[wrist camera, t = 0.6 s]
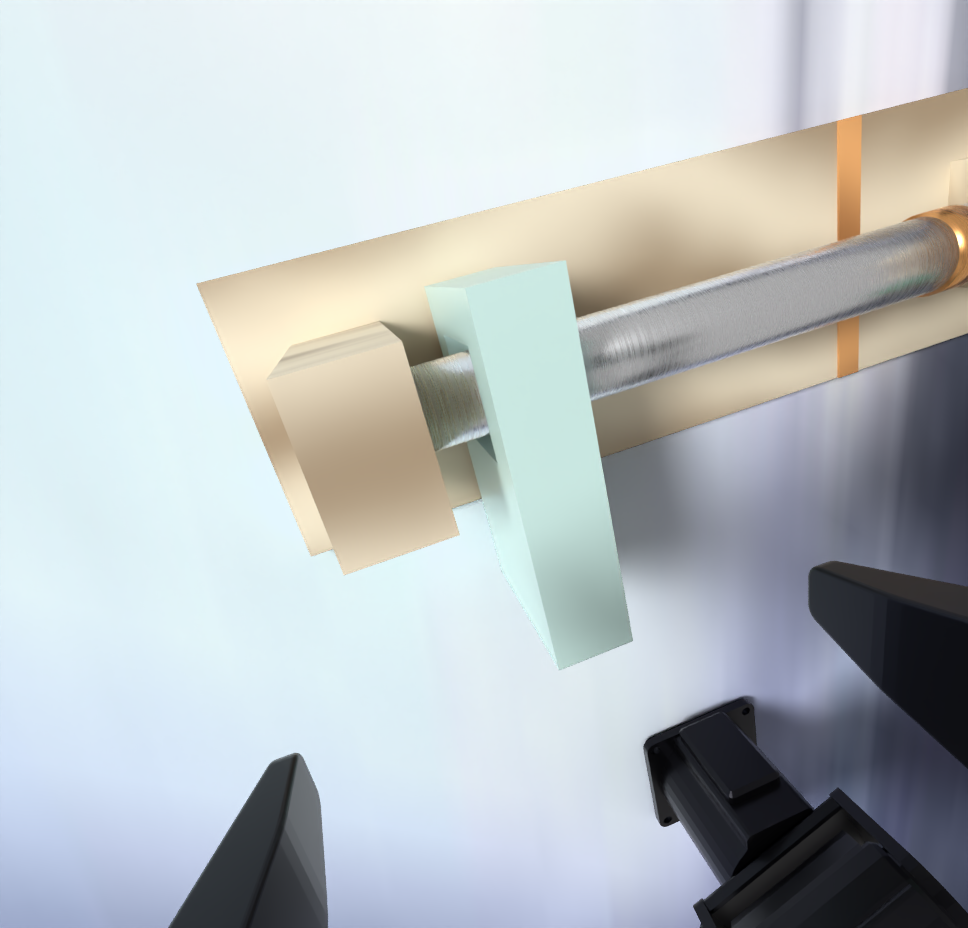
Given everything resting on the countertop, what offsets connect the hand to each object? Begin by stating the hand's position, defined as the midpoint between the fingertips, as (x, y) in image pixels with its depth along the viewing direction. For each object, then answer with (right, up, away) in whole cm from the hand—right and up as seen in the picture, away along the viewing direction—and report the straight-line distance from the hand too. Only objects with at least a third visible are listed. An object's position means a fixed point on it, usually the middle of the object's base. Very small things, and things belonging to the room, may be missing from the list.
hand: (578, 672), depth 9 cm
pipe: (+7, +9, +10) cm, 15 cm away
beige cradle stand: (+6, +10, +13) cm, 18 cm away
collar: (-1, +5, +11) cm, 12 cm away
